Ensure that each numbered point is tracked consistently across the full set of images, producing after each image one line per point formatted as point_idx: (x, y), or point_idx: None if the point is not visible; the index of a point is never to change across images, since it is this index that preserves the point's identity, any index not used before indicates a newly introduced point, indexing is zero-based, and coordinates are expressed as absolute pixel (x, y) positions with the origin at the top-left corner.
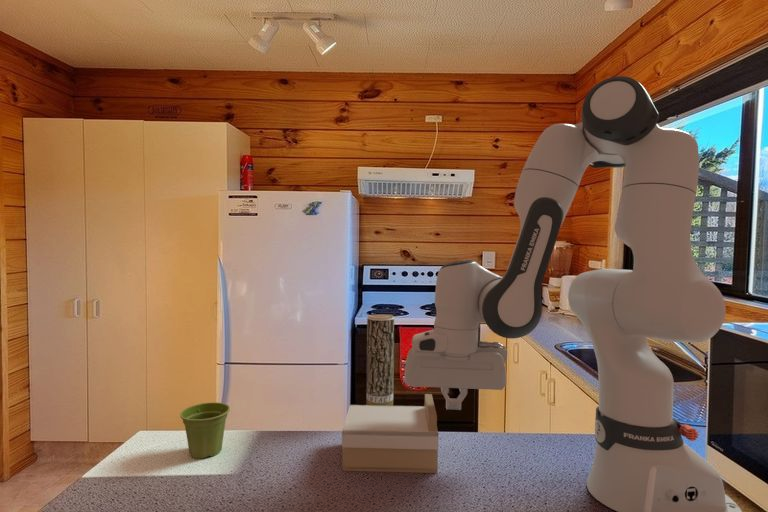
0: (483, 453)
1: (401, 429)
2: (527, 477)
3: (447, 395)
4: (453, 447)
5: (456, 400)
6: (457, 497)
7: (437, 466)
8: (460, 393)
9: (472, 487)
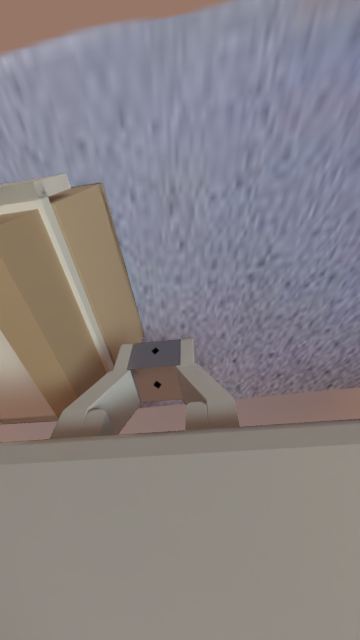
0: (266, 218)
1: (21, 409)
2: (339, 320)
3: (119, 413)
4: (174, 192)
5: (172, 389)
6: None
7: (141, 341)
8: (195, 394)
9: (212, 364)
